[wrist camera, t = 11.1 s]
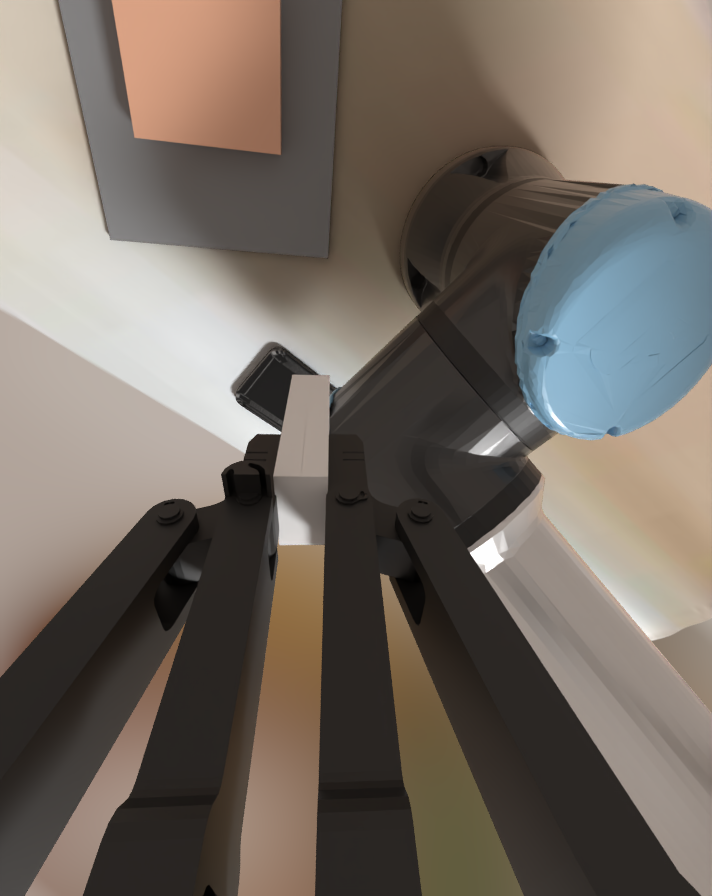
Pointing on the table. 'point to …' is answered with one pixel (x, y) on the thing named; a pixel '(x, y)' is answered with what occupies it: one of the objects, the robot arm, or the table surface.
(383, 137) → the table surface
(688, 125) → the table surface
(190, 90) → the tile
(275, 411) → the phone
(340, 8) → the mat
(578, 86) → the table surface
